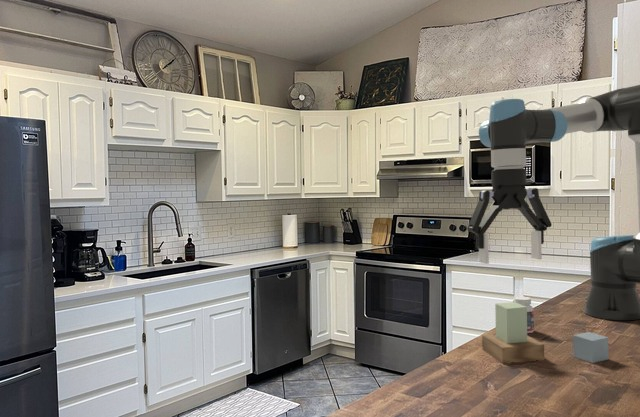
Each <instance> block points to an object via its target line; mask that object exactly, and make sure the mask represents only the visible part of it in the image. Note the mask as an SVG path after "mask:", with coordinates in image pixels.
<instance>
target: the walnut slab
mask: <svg viewBox="0 0 640 417" xmlns="http://www.w3.org/2000/svg"><path fill="white" fill-rule="evenodd" d="M481 339H482V340H481V341H482V345H481V346H482V351H484V352H485V353H486V354H487V355H489V356H490V357H492V358H494V359H495V360H496V361H498V362H499V361H500V362H499V363H501V364H502V363H503V364H512V363H511V362H515V363H524V362H525V361H526V362H535V361H536V360H538V361H545V344H544V343H542V342H541V341H539V340H538V339H535V338H533V337H531V336H529V335H528V334H527V342H518V343H505V342H504V341H502V340H500V339H498V338H496V333H494V334H493V333H492V334H482V335H481ZM526 362H525V363H526Z"/></svg>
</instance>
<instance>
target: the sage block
mask: <svg viewBox="0 0 640 417" xmlns="http://www.w3.org/2000/svg"><path fill="white" fill-rule="evenodd" d="M494 304H495V334H496V338H498V339H500V340H502V341H504V342H505V343H518V342H527V335H528V333H527V307H526V306H523V305H521V304H518V303H516V302H515V301H512V302H502V303H501V302H500V303H494Z"/></svg>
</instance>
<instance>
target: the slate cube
mask: <svg viewBox="0 0 640 417" xmlns="http://www.w3.org/2000/svg"><path fill="white" fill-rule="evenodd" d="M572 350H573V351H572V355H573V357H574V358H577V359H579V360H583V361H586V362H588V363H591V364H595V363H599V362H602V361H606V360H607V361H608V360H609V337H607V336H604V335H601V334H599V333H598V334H597V333H593V332H590V331H587V332H583V333H577V334H573V335H572Z"/></svg>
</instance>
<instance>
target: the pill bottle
mask: <svg viewBox="0 0 640 417" xmlns="http://www.w3.org/2000/svg"><path fill="white" fill-rule="evenodd" d="M514 302H516V303H518V304H521V305H523V306H526V307H527V334H532V333H534V332H535V318H534V315H535V314H534V312H535V311H534V307H533V306H531V305H532V298H531V297H527V296H516V297H515V298H514Z"/></svg>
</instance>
